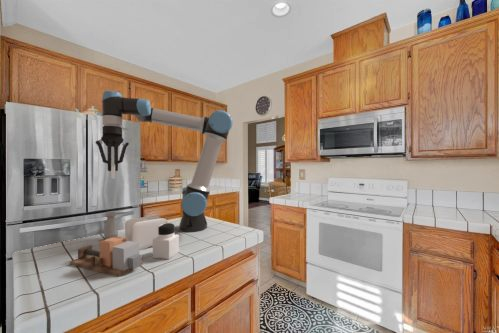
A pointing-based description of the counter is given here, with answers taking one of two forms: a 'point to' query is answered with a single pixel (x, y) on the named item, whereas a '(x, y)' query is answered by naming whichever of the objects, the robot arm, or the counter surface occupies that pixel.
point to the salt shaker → (110, 225)
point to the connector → (126, 255)
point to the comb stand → (96, 263)
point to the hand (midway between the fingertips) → (112, 178)
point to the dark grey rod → (92, 252)
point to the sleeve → (109, 249)
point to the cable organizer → (143, 230)
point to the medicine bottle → (165, 242)
